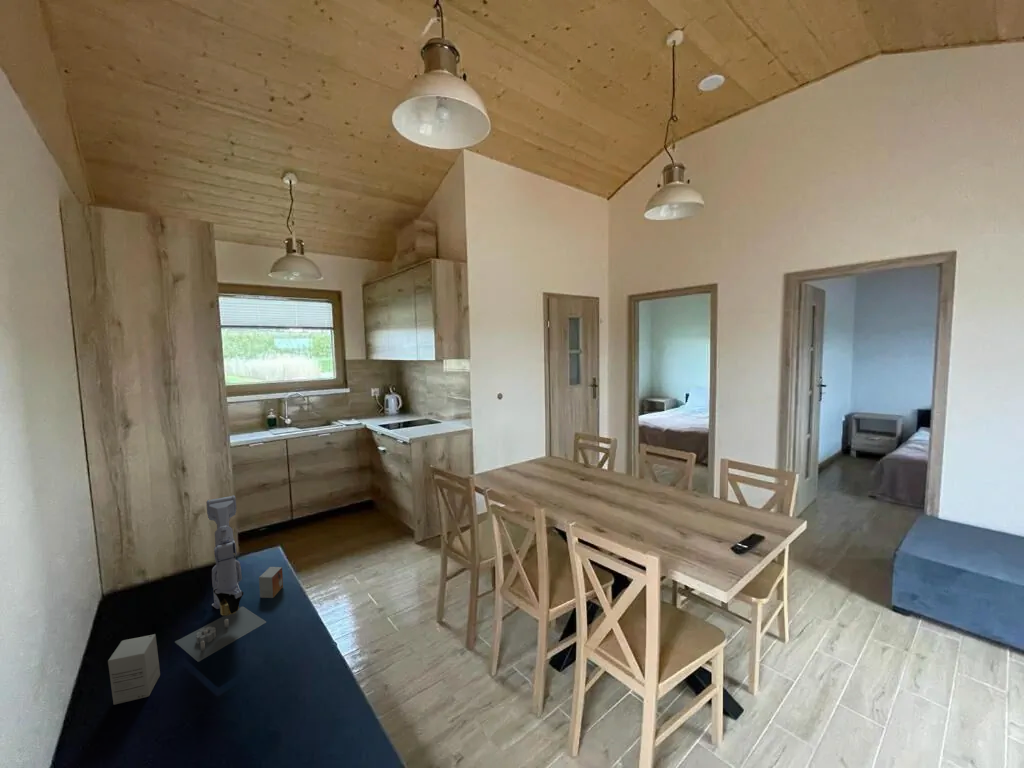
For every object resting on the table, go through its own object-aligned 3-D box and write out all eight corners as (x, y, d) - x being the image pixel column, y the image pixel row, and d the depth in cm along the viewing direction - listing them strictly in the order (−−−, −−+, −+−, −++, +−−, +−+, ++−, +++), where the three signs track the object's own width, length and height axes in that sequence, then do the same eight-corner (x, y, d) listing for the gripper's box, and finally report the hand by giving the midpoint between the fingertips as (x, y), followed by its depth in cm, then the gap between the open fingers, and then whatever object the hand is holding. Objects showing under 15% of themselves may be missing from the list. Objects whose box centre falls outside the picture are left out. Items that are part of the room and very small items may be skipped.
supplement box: (126, 682, 137) (121, 639, 134) (161, 674, 140) (156, 632, 138) (111, 705, 128) (106, 660, 126) (149, 697, 131) (144, 653, 129)
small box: (273, 601, 177) (271, 577, 176) (259, 600, 177) (258, 577, 176) (283, 589, 185) (282, 566, 184) (271, 589, 185) (269, 566, 184)
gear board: (174, 645, 152) (173, 634, 151) (242, 609, 172) (242, 599, 171) (198, 666, 144) (197, 653, 143) (267, 625, 163) (266, 614, 162)
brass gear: (217, 612, 158) (217, 602, 158) (234, 604, 163) (233, 594, 162) (225, 617, 155) (224, 607, 155) (241, 609, 160) (241, 599, 159)
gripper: (204, 573, 157) (207, 607, 159) (225, 586, 150) (228, 622, 152) (225, 564, 163) (227, 597, 165) (246, 576, 156) (249, 611, 158)
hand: (229, 608), depth 159 cm, fingers closed on brass gear, 6 cm apart
